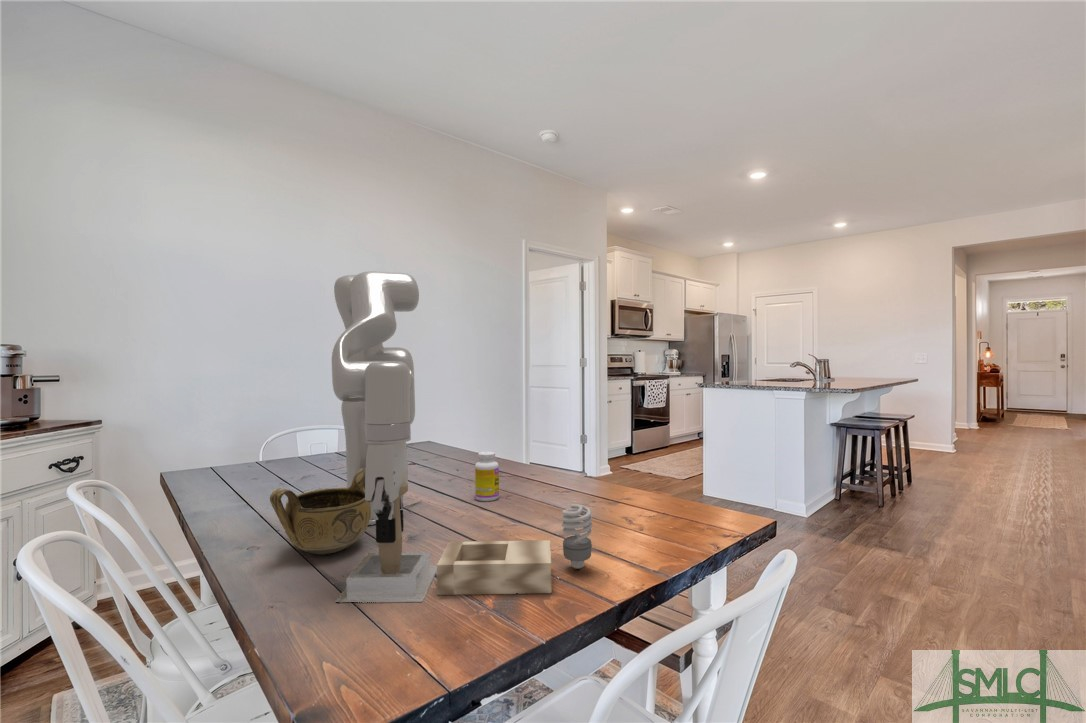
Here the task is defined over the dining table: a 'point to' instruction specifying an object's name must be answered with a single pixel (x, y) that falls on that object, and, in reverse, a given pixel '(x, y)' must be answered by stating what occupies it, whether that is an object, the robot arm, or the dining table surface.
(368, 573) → the tray
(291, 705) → the dining table surface
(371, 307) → the robot arm
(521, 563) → the block
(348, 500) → the ceramic bowl
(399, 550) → the handle
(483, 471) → the supplement bottle
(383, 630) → the dining table surface
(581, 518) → the light bulb
